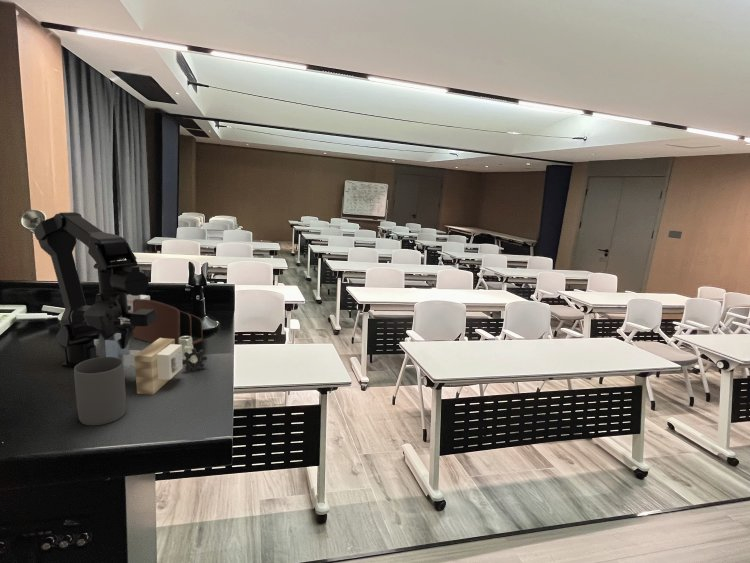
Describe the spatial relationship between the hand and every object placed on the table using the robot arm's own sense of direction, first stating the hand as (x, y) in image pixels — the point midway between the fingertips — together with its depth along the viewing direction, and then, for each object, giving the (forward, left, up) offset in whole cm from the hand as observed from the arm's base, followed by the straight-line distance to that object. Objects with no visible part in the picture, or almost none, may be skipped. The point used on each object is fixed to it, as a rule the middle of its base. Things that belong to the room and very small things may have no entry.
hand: (117, 347), depth 109 cm
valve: (+12, +13, -9) cm, 20 cm away
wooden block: (+10, 0, -9) cm, 13 cm away
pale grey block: (+7, 0, -6) cm, 9 cm away
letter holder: (-2, +30, -9) cm, 31 cm away
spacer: (+13, 0, -6) cm, 15 cm away
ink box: (-16, +37, -9) cm, 41 cm away
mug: (+4, -15, -9) cm, 18 cm away
